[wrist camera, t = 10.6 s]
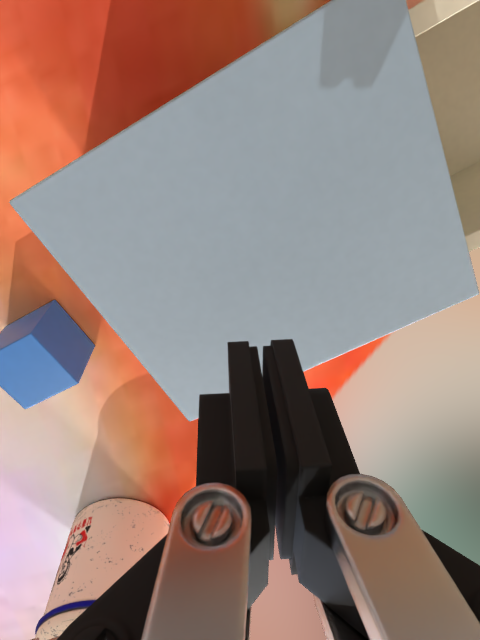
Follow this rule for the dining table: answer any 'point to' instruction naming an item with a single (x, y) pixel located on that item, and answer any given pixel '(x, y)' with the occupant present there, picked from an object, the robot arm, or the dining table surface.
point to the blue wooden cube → (42, 355)
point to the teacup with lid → (99, 557)
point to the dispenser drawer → (454, 94)
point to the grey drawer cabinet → (268, 205)
